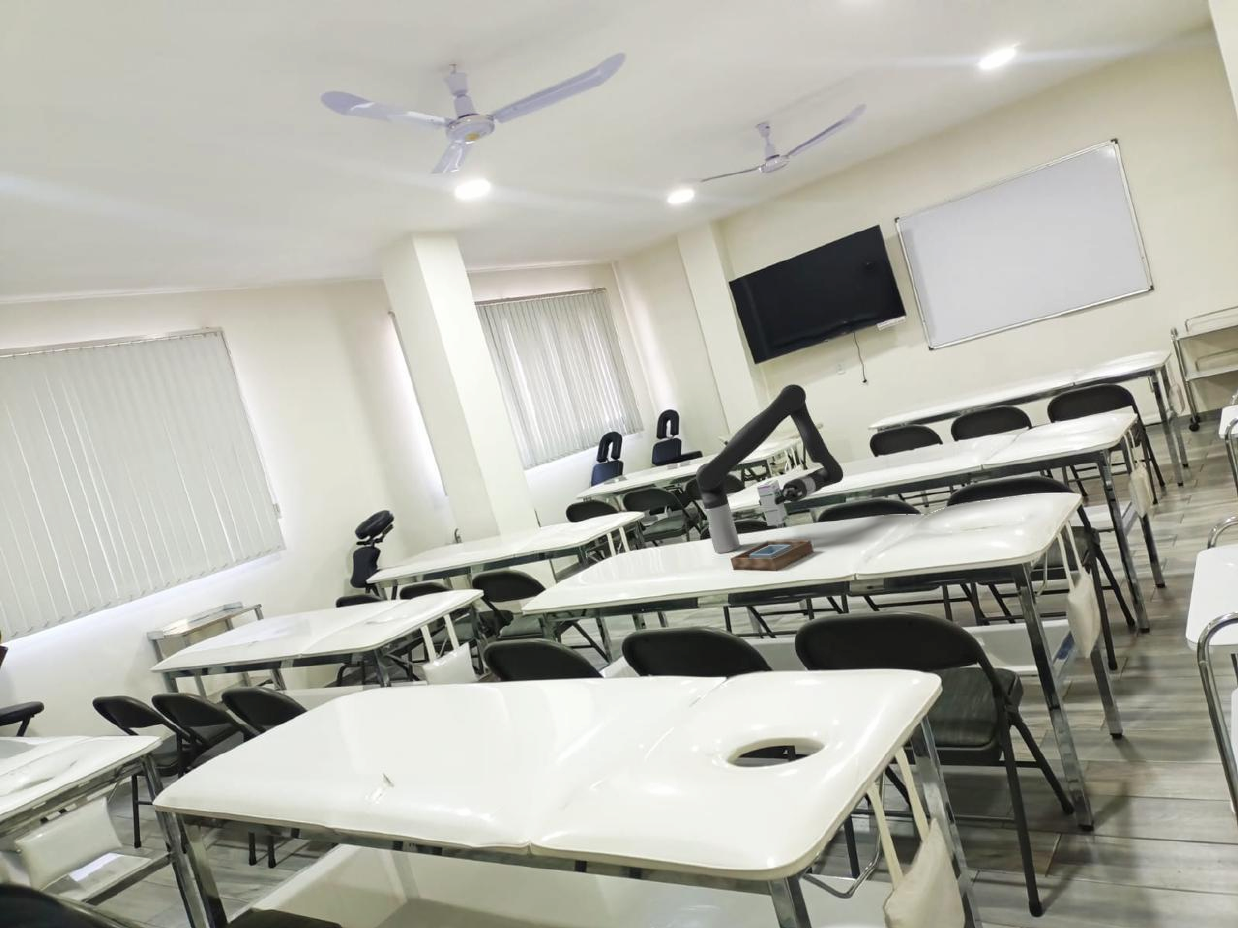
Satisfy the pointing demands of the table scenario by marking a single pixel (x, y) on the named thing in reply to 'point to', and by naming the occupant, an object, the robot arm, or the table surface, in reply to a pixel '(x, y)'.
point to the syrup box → (772, 503)
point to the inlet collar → (771, 551)
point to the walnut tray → (772, 564)
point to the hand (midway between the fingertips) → (767, 502)
